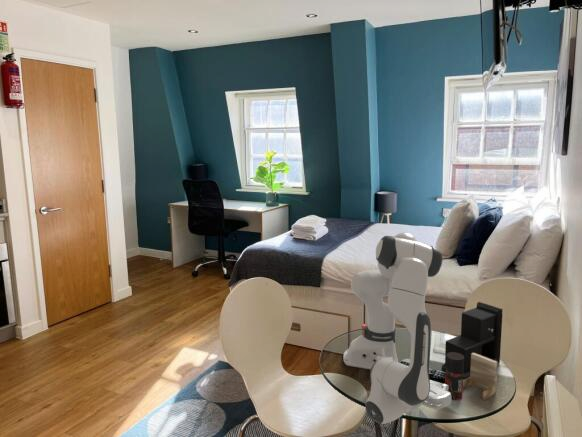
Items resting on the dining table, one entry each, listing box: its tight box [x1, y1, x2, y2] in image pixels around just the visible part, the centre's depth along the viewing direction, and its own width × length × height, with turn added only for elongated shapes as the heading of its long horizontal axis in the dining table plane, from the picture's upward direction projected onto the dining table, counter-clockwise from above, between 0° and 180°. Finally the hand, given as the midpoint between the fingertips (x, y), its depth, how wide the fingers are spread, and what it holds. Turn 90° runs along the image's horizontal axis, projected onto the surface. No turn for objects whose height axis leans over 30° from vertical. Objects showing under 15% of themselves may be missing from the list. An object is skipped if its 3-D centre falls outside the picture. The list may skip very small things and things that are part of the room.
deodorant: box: [444, 352, 464, 401], centre depth 156 cm, size 6×6×15 cm
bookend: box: [441, 301, 503, 380], centre depth 175 cm, size 23×11×24 cm, turn 123°
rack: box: [463, 353, 499, 401], centre depth 159 cm, size 8×9×12 cm
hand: (434, 380), depth 148 cm, fingers open, 8 cm apart
